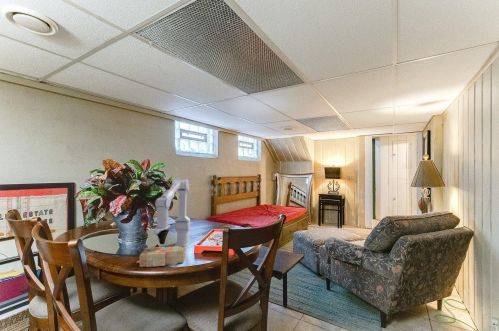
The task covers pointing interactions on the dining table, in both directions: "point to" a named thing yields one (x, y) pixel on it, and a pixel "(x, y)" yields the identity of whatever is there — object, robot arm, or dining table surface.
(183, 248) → the stack of blocks
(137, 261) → the mat
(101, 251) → the dining table surface
